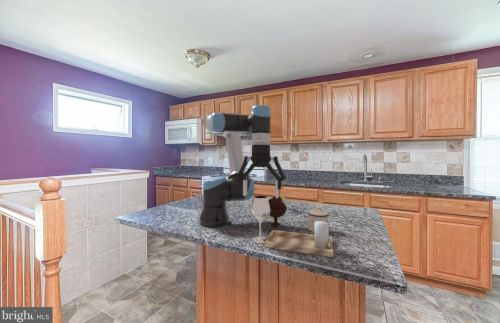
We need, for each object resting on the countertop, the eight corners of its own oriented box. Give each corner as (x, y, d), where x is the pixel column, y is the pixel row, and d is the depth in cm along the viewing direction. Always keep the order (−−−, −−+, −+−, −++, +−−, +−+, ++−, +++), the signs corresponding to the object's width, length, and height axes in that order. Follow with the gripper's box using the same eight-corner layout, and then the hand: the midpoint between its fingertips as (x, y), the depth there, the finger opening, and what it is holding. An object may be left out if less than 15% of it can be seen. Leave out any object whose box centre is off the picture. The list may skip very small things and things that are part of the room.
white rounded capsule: (313, 248, 81) (314, 224, 81) (314, 243, 86) (314, 220, 85) (328, 250, 79) (328, 225, 79) (328, 245, 84) (328, 221, 84)
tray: (264, 250, 82) (264, 242, 82) (272, 236, 96) (272, 229, 96) (333, 260, 75) (333, 251, 75) (332, 244, 88) (332, 237, 88)
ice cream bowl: (290, 225, 111) (291, 195, 111) (277, 230, 103) (278, 198, 103) (273, 220, 119) (274, 192, 118) (260, 225, 111) (260, 195, 110)
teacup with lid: (330, 236, 97) (330, 209, 97) (308, 234, 98) (309, 208, 98) (325, 227, 109) (325, 203, 108) (306, 226, 110) (306, 202, 110)
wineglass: (268, 245, 87) (269, 199, 86) (248, 243, 89) (248, 198, 88) (271, 237, 95) (271, 195, 94) (252, 235, 97) (252, 194, 96)
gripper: (229, 144, 91) (229, 196, 91) (290, 143, 83) (290, 200, 83) (236, 145, 98) (236, 193, 98) (293, 144, 90) (292, 196, 90)
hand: (260, 196), depth 91 cm, fingers open, 13 cm apart
